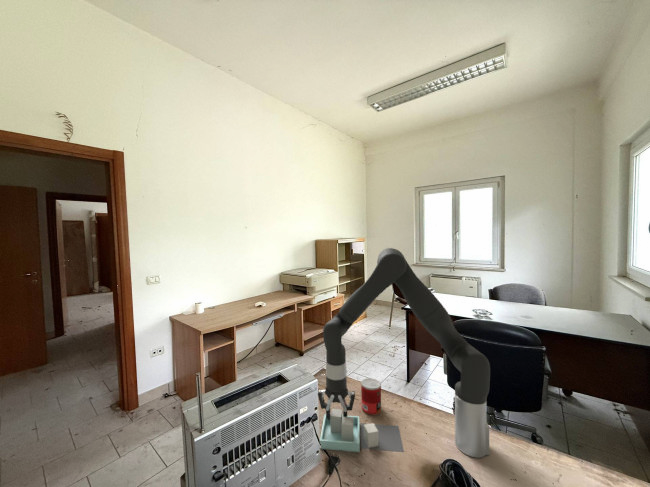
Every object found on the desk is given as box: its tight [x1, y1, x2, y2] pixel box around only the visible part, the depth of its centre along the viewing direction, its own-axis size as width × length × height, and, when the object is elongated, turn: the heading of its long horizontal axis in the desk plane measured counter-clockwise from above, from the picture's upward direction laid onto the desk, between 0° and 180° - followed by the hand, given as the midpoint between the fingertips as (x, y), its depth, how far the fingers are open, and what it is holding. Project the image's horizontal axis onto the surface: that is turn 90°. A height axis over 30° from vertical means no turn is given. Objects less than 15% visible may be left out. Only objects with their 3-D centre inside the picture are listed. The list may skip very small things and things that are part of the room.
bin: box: [319, 413, 361, 453], centre depth 93 cm, size 13×13×3 cm
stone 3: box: [364, 422, 378, 448], centre depth 90 cm, size 4×4×5 cm
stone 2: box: [341, 416, 354, 442], centre depth 92 cm, size 4×4×6 cm
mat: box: [359, 422, 405, 453], centre depth 92 cm, size 14×12×1 cm
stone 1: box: [330, 408, 343, 434], centre depth 96 cm, size 4×4×6 cm
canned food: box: [360, 377, 382, 416], centre depth 107 cm, size 8×8×11 cm
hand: (336, 419), depth 96 cm, fingers open, 5 cm apart
